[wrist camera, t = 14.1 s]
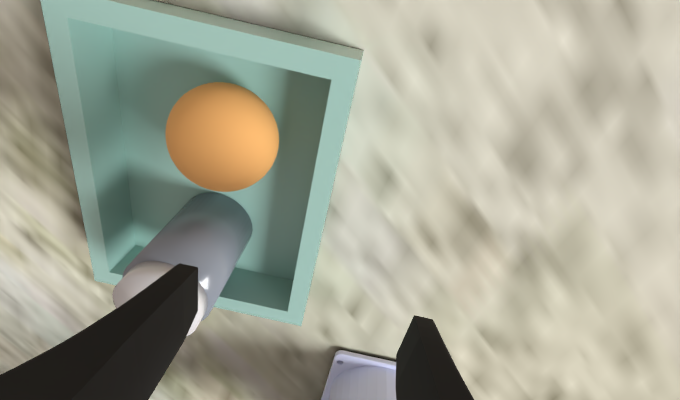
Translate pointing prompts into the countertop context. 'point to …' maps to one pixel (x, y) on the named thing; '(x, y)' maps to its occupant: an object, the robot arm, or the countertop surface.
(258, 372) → the countertop surface
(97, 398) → the robot arm
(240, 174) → the ball
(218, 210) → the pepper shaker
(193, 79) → the tray
